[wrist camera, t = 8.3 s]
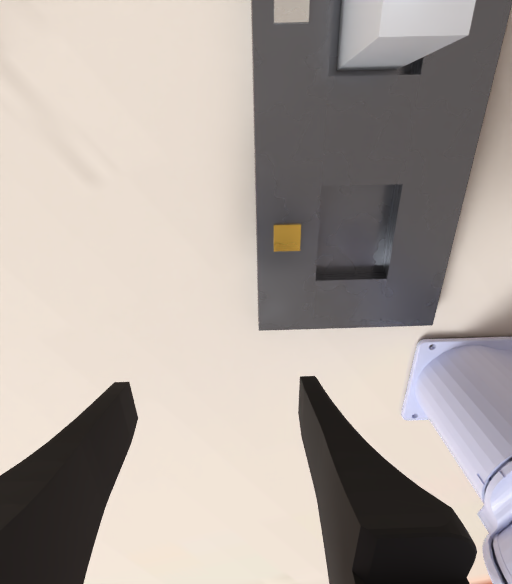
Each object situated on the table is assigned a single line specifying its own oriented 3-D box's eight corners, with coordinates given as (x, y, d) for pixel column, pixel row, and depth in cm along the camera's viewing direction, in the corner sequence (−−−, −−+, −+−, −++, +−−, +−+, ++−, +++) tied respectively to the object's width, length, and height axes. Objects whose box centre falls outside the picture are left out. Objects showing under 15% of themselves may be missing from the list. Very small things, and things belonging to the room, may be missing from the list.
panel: (536, -192, 13) (574, -236, 12) (421, 314, 24) (434, 326, 22) (247, -188, 13) (246, -231, 12) (258, 319, 23) (259, 332, 22)
